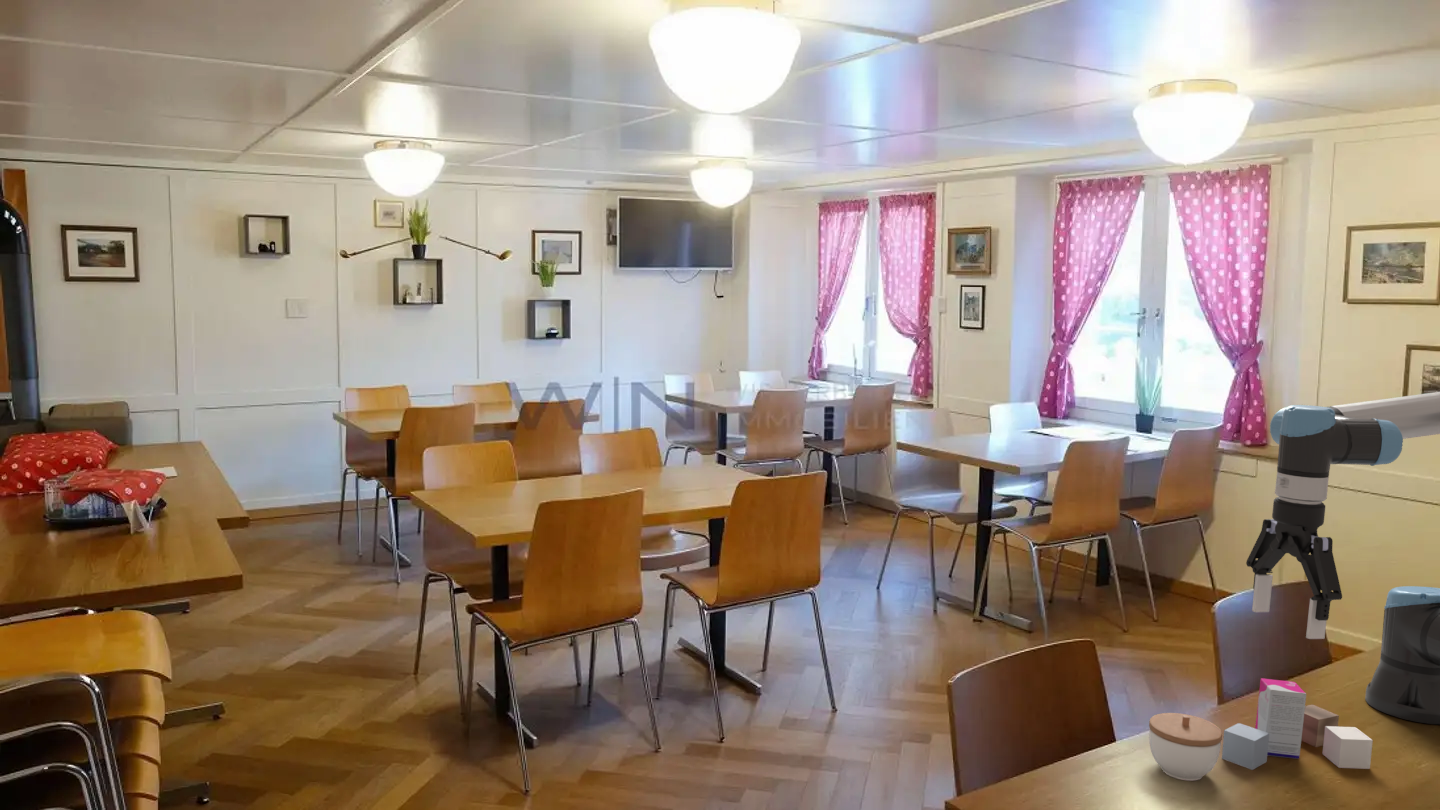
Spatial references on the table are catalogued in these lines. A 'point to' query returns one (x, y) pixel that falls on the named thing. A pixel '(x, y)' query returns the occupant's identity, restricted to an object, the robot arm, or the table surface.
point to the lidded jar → (1184, 745)
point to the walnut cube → (1317, 724)
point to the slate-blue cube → (1245, 746)
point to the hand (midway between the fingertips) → (1286, 624)
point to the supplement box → (1281, 716)
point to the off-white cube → (1347, 747)
